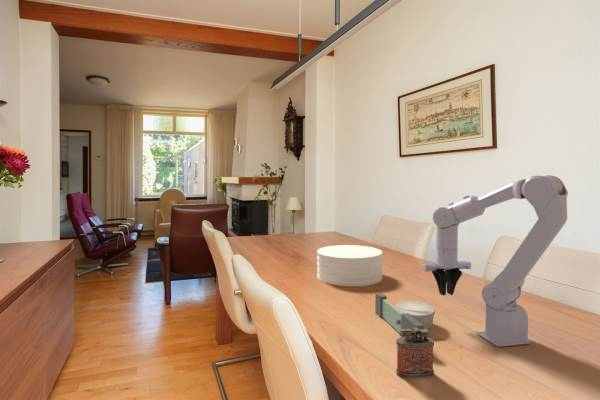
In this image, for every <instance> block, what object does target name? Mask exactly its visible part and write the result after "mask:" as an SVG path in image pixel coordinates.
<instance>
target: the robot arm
mask: <svg viewBox="0 0 600 400" xmlns="http://www.w3.org/2000/svg"><path fill="white" fill-rule="evenodd" d="M568 194H569V191H568V190H567V187H566V186H565V184H564V182H563V180H562V179H561V178H559V177H557V176H555V175H550V174H549V175H536V174H535V175H531V176H530V177H527V178H524V179H519V180H517V181H514V182H511V183H508V184H507V185H504V186H502V187H500V188H498V189H495V190H494V191H491V192H489V193H487V194H485V195H483V196H481V197H478V196H476V195H465V196H463V197H462V198H463V199H461V200H459V201H457V202H449V203H448V206H446V207H443V206H441V207H438V208H437V209H436V210H434V212H433V214H432V220H433V223H434V224H435V226H436V232H435V233H436V242H435V245H436V247H435V248H436V249H435V252H436V254H435V255H436V256H435V257H436V259H435V261H432V262H427V263H426V262H425V263H422V264H421V271H423V272H425V273H427V272H431V273H432V275H433V277H434V279H435V282H436V285H437V289H438V293H439V295H441V296H446V295H447V294H448V295H449V296H453V295H454V292H455V289H456V286H457V284H458V282H459V280H460V278H461V277H462V276H463V271H462V270H471V269H472V262H470V261H467V260H466V261H464V260H463V261H461V260H459V261H458V235H459V233H458V231H459V229H458V227H459V225H460V224H461V223H465V222H467V221H469V220H473V219H475V218H478V217H480V216H482V215H483V214H484V213H485V211H486V208H490V207H492V206H496V205H498V204H502V203H504V202H508V201H510V200H513V199H516V200H517V199H518V200H522V199H525V200H527V202H528V203H529V204H530V205H531V206H532V208H533V209H534V211H535V213H536V216H537V218H538V219H537V220H536V222H535V223H534V225H533V226H532V228H531V229H530V231H529V232H527V235H526V237H525V238H524V239H523V241H522V242H521V244H520V245H519V247H518V248H517V249H516V251H515V252H514V254H513V255H512V257H511V258H510V259H509V261H508V262H507V264H506V265H505V266H504V269H503V270H502V271H501V272H500V273H499V274H498V275H496V277H495V278H494V279H493V281H492V282H490V283H487V284H485V285H484V287H483V288H482V290H481V298H482V300H483V301H484V303H485V315H484V316H485V318H484V319H485V320H484V323H485V325H484V326H485V327H484V328H485V329H484V330H483V331H478V332H477V335H479V336H480V337H481V338H483V339H485V340H487V341H488V342H489V343H491V344H493V345H495V346H496V347H499V348H500V347H507V346H508V347H511V346H519V345H527V344H528V345H529V344H531V341H530V340H528V338H529V317H528V313H527V311H526V309H525V308H524V307H523V306H522V305H519V304H517V300H518V299H519V298H520V297H521V294H522V287H523V285H524V284H525V279H526V278H527V276H528V275H529V274H530V272H531V271H532V270H533V268H534V267H535V266H536V264H537V263H538V261H539V260H540V259H541V257H542V255H544V253H545V252H546V250H547V249H548V248H549V246H550V245H551V243H552V242H553V241H554V239H555V238H556V237H557V235H558V234H559V232H560V231H561V230H562V228H563V227H564V226H565V224H566V222H567V220H568V203H567V201H568V199H567V198H568Z"/></svg>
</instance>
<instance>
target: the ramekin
mask: <svg viewBox="0 0 600 400" xmlns="http://www.w3.org/2000/svg"><path fill="white" fill-rule="evenodd" d="M394 306H395V307H396V308H397V309H398V310H400V311H401V312H402V313H403V314H405V313H409V314H410V315H411V316H412V317H414V318H415V319H416V320H418V321H419V322H420V323H421V324H423V325H424V329H426V330H428V331H429V330H430V329H431V328H432V327H433V323H434V322H433V321H434V318H435V317H434V316H435V315H436V309H435V308H434V307H433V306H432V305H430V304H428V303H425V302H420V301H412V300H411V301H410V300H404V301H400V302H398V303H396V304H395V305H394Z"/></svg>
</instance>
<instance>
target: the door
mask: <svg viewBox="0 0 600 400" xmlns="http://www.w3.org/2000/svg"><path fill="white" fill-rule="evenodd" d="M401 314H403V313H402V312H401V311H400V310H398V309H397V308H396V307H395V305H393V304H392V303H391V302H390V301H389V300H386V299H382V317H383V318H382V319H384V320H385V321H386V322H387V323H388V324H389V325H390V326H391V327H393V329H394V330H395V331H396V332H398V333H399V334H400V330H401Z"/></svg>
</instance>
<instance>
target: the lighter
mask: <svg viewBox="0 0 600 400" xmlns="http://www.w3.org/2000/svg"><path fill="white" fill-rule="evenodd" d="M399 336H400V337H399V338H397V339H396V340H395V341H396V354H397V355H396V361H397V362H396V368H395V370H396V371H395V372H396V376H398V377H400V378H403V377H404V378H405V377H406V378H408V379H423V378H424V379H425V378H431V377H433V376H434V375H435V374H434V373H435V369H434V345H435V339H433V338H431V337H429V330H426V329H420V330H419V329H418V328H417V327H415V328H413V330H411V329H401V330H400V333H399ZM423 336H424V337H423ZM401 337H404V338H401Z"/></svg>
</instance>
